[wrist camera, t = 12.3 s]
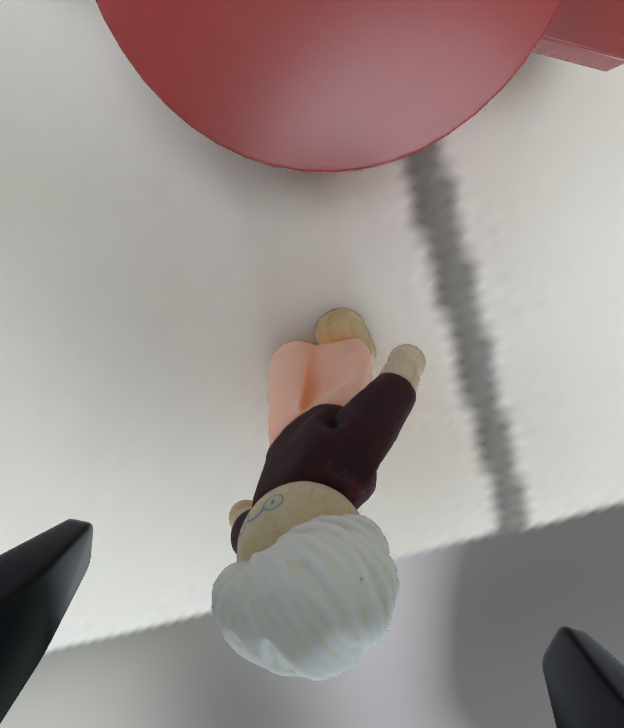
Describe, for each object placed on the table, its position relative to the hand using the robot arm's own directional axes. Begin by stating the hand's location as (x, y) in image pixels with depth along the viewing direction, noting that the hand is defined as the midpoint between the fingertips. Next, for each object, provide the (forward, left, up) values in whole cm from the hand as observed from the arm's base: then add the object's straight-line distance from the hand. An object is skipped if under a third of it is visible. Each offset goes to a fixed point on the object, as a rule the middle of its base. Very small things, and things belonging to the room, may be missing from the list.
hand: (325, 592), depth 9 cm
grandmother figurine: (-1, 0, -11) cm, 11 cm away
